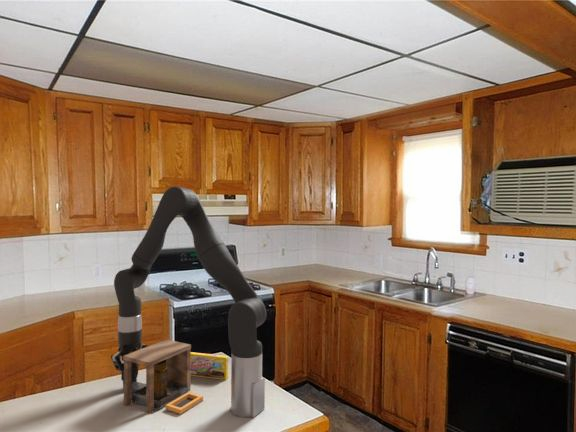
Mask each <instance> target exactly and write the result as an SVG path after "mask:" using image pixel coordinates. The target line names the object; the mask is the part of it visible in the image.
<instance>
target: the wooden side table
mask: <svg viewBox="0 0 576 432" xmlns="http://www.w3.org/2000/svg"><path fill="white" fill-rule="evenodd" d="M191 349H192V344H190V343H185V342H180V341H176V340H171V339H164V340H162V341H161V340H160V341H158V342H156V343H153V344H151V345H148V347H145V348H143V349H140V350H137V351H135V352H132V353H130V354H127V355H124V356H123V360H124V388H123V406H127V407H128V406H131V405H132V401H131V392H132V390H131V362H134V363H137V364H139V365H141V366H145V367H146V368H145V369H146V370H145V376H146V378H145V384H146V393H145V395H146V406H145V410H146V411H145V412H146V414H152V413H154V411H155V409H154V364H157V363H159V362H161V361H163V360H166V366H167V372H168V374H167V378H168V379H167V381H170V382H174V383H177V384H181V385H185V386H188V392H190V391H191V376H190V360H191V352H192V351H191Z"/></svg>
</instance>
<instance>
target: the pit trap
mask: <svg viewBox="0 0 576 432" xmlns="http://www.w3.org/2000/svg"><path fill="white" fill-rule="evenodd" d="M203 401H204V396H203V395H201V394H196V393H193V392H190V391H188V393H186V394H184V395H182V396H181V397H179V398H177V399H175V400H174V401H172V402H170V403H168V404H167V405H165V411H167V412H171V413H174V414H176V415H180V416H182V415H183V414H185V413H186V412H188V411H190V410H191V409H193V408H194V407H196V406H197V405H199V404H201V403H202V402H203Z"/></svg>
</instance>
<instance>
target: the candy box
mask: <svg viewBox="0 0 576 432" xmlns="http://www.w3.org/2000/svg"><path fill="white" fill-rule="evenodd" d="M190 377H198V378H205V377H206V378H207V379H215V380H222V381H223V380H224V381H227V380H228V379H229V355H221V354H212V353H202V352H193V351H191V360H190ZM206 378H205V379H206Z"/></svg>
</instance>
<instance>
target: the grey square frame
mask: <svg viewBox="0 0 576 432" xmlns="http://www.w3.org/2000/svg"><path fill="white" fill-rule="evenodd" d="M137 378H138V375H137V363H134V362H131V402H133V403H137V404H138V405H139V404H140V405H142V406H145V407H146V397H144V395H145V394H146V383H142V382H140V381H138V380H137ZM122 389H124V382H123V381H122ZM167 390H171V391H174V392H172V393H169V394H170V395H168V396H166V397H164V398H163V399H161V400H159V401H157V400H154V410H158V411H159V410H160V409H162V408H164V407H166V405H167V404H168V403H170V402H172V401H174V400H175V399H177V398H179V397H181V396H182V395H184V394H186V393H188V392H189V391H188V386H185V385H181V384H177V383H174V382H170V381H168V383H167Z"/></svg>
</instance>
